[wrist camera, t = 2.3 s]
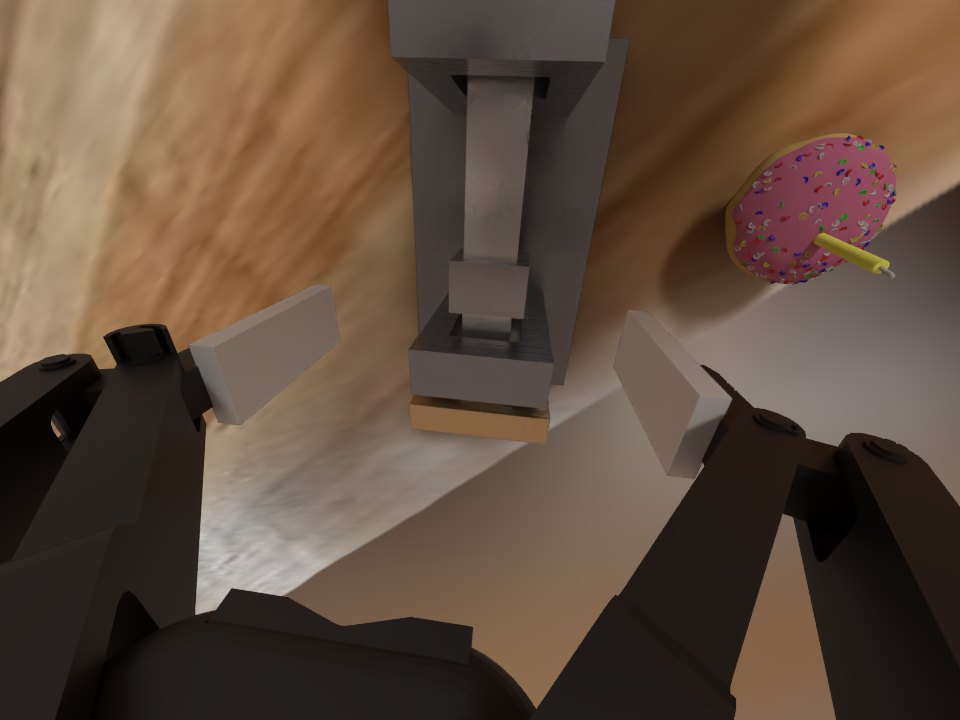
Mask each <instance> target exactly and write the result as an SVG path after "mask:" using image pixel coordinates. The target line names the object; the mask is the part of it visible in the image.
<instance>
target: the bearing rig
mask: <svg viewBox="0 0 960 720" xmlns="http://www.w3.org/2000/svg"><path fill="white" fill-rule="evenodd" d="M615 1H616V0H388V12H389V28H390V45H391V57H392V58H393V59H394V60H395V61H396V62H397V63H398V64H399V65H401V66H402V67H403V68H404V69H405V70H406V71H407V72H408V81H409V105H410V129H411V152H412V176H413V200H414V224H415V247H416V271H417V295H418V318H419V335H418V337H417V338H416V340H415V341H414V343H413V344H412V345H411V347H410V348H409V364H410V381H411V394H413V395H422V396H431V397H440V398H450V399H459V400H468V401H477V402H486V403H496V404H505V405H514V406H523V407H532V408H541V409H546V407H547V401H548V395H549V389H550V384H558V385H563V384H564V379H565V374H566V369H567V364H568V358H569V353H570V348H571V343H572V338H573V332H574V327H575V322H576V317H577V312H578V306H579V301H580V296H581V291H582V285H583V280H584V275H585V270H586V265H587V259H588V254H589V249H590V244H591V239H592V233H593V228H594V223H595V218H596V213H597V207H598V202H599V197H600V192H601V187H602V181H603V176H604V171H605V166H606V160H607V155H608V150H609V145H610V140H611V134H612V129H613V124H614V119H615V114H616V108H617V103H618V98H619V93H620V88H621V82H622V77H623V72H624V67H625V62H626V56H627V51H628V46H629V41H630V38H609V36H610V31H611V25H612V19H613V13H614V7H615ZM468 75H481V76H519V77H535V81H534V92H533V102H532V112H531V123H530V133H529V144H528V154H527V164H526V175H525V185H524V196H523V206H522V216H521V227H520V237H519V248H518V251H525V252H529V275H528V284H527V293H526V302H525V310H524V319H516V318H512V320H511V331H510V341H499V340H488V339H478V338H467V337H462V314H459V313H449V260H450V259H451V258H452V257H453V256H454V255H455V254H456V253H457V252H458V251H459V250H460V249H461V248H462V247H464V222H465V179H466V135H467V91H468Z"/></svg>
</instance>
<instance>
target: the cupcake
mask: <svg viewBox="0 0 960 720" xmlns="http://www.w3.org/2000/svg"><path fill="white" fill-rule="evenodd" d="M881 147H882V148H881ZM882 149H884V146H881V145H879V146H878V145H876V144H875V143H873V142H872V140H871V139H864V138H863V137H861V136H856V135H852V134H845V133H838V134H829V135H824V136H820V137H816V138H813V139H809V140H806V141H802V142H798V143H794V144H790V145H787V146H784V147H782V148H781V149H779V150H778V151H776V152H775V153H773V154H772V155H770V156H769V157H768V158H767V159H765V160H764V161H763V162H762V163H761V164H760V165H759V166H758V167H757V168H756V169H755V170H754V171H753V172H752V174H751V175H750V176H749V177H748V179H747V180H746V181H745V182H744V184H743V185H742V186H741V188H740V189H739V190H738V192H737V193H736V195H735V196H734V197H733V199H732V200H731V201H730V203H729V204H728V206H727V208H726V212H725V237H726V246H727V251H728V254H729V256H730V258H731V260H732V262H733V263H734V264H735V265H736V266H737V267H738V268H739V269H741V270H742V271H744V272H745V273H747V274H749V275H751V276H753V277H755V278H758V279H761V280H764V281H768V282H770V283H771V284H772V282H773V283H780V284H793V285H798V284H799V283H798V282H803V283H804V282H807V281H808V280H810V279H813V278H814V279H816V278H819V276H820V275H821V274H823V273H825V272H827V271H831V270H833V269H834V268H835V267H836V266H838V265H840V264H841V263H843V262H848V261H850V262H852V263H854V264H856V265H858V266H860V267H862V268H864V269H866V270H868V271H870V272H872V273H875V274H876V273H881V272H882V273H883V274H885V275H887V276H888V277H889V278H890V279H893V278H895V275H894V273H893V272H891V271H889V270H887V268H888V267H889V262H888V261H886V260H884V259H882V258H879V257H877V256H875V255H873V254H870V253H868V252H866V251H864V247H866V246H867V245H869V243H870V241H871V240H870V239H873V238H875V237H876V235H877V232H878V231H879V230H880V229H882V228H883V227H884V226H883V225H882V223H883V221H884V220H885V218H886V216H887V214H888V211H889V208H890V206H891V204H893V203H894V202H895V200H896V199H894V200H893V196H895V195H896V190H895V185H896V173H897V169H896V167H897V166H895V165H894V163H893V162H891V160H890V159H889V157H888V156H887V154H886V153H885V152H884V151H883V150H882ZM880 227H881V228H880ZM873 236H874V237H873ZM861 249H862V250H861ZM846 260H848V261H846ZM817 276H818V277H817ZM805 280H806V281H805ZM794 283H795V284H794Z"/></svg>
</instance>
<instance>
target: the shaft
mask: <svg viewBox="0 0 960 720" xmlns="http://www.w3.org/2000/svg"><path fill="white" fill-rule="evenodd" d="M534 81H535V77H519V76H481V75H468V91H467V135H466V179H465V222H464V247H462V248H461V249H460V250H459V251H458V252H457V253H456V254H455V255H454V256H453V257H452V258H451V259H450V260H449V313H459V314H462V337H467V338H478V339H488V340H499V341H510V331H511V320H512V318H516V319H524V310H525V302H526V293H527V284H528V275H529V252H525V251H518V248H519V237H520V227H521V216H522V206H523V196H524V185H525V175H526V164H527V154H528V144H529V133H530V123H531V112H532V102H533V92H534Z"/></svg>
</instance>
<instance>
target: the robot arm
mask: <svg viewBox="0 0 960 720" xmlns="http://www.w3.org/2000/svg"><path fill="white" fill-rule="evenodd" d="M103 338H104V340H105V341H106V343H107V345H108V347H109V349H110V351H111V353H112V355H113V357H114V359H115V361H116V363H117V365H116V367H115V368H113V369H98V367H97V365H96V364H95V362H94V360H93V358H92V357H91V355H88V354H69V355H65V354H61V355H55V356H51V357H47V358H44V359H43V360H41V361H39V362H36V363H33V364H31V365H29V366H27V367H25V368H23V369H21V370H20V371H18V372H16V373H15V374H13V375H12V376H10V377H8V378H7V379H5V380H3V381H2V382H0V720H734V717H735V712H736V698H735V697H734V696H733V695H732V694H730V686H731V682H732V678H733V674H734V671H735V668H736V664H737V661H738V658H739V655H740V652H741V648H742V645H743V642H744V639H745V635H746V632H747V629H748V625H749V622H750V619H751V616H752V612H753V609H754V606H755V602H756V599H757V596H758V593H759V589H760V586H761V583H762V580H763V576H764V573H765V570H766V566H767V563H768V560H769V557H770V553H771V550H772V547H773V543H774V540H775V537H776V533H777V530H778V527H779V524H780V520H781V517H782V514H785V515H788V516H792V517H793V519H794V523H795V528H796V533H797V537H798V542H799V546H800V552H801V556H802V561H803V565H804V570H805V575H806V579H807V584H808V589H809V594H810V599H811V603H812V608H813V612H814V617H815V622H816V627H817V631H818V636H819V641H820V645H821V650H822V655H823V660H824V664H825V669H826V674H827V678H828V683H829V688H830V693H831V697H832V702H833V707H834V711H835V716H836V720H960V506H959V505H958V503H957V502H956V501H955V499H954V498H953V497H952V496H951V494H950V493H949V492H948V491H947V489H946V488H945V486H944V485H943V484H942V482H941V481H940V480H939V478H938V477H937V476H936V475H935V473H934V472H933V471H932V469H931V468H930V467H929V465H928V464H927V463H926V462H925V461H924V460H923V459H922V458H920V457H919V456H918V455H916V454H914V453H913V452H911V451H909V450H908V449H907V448H906V447H905V446H903V445H901V444H896V442H894V441H891V440H888V439H882V438H879V437H876V436H873V435H868V434H864V433H850V434H848V435H846V436H845V438H844V439H843V440H842V442H841V443H840V445H839V446H838V447H836V446H833V445H828V444H825V443H821V442H818V441H814V440H810V439H806V434H805V431H804V430H803V429H802V428H801V427H800V426H799V425H798V424H797V423H795V422H794V421H792V420H791V419H789V418H787V417H784V416H782V415H780V414H778V413H775V412H772V411H769V410H765V409H760V408H754V407H753V406H752V405H751V404H750V403H748V402H747V401H746V400H745V399H744V398H743V397H742V396H741V395H740V394H739V393H738V392H737V391H735V390H734V388H733V387H732V386H731V385H730V384H728V383H727V382H726V381H725V380H724V378H722V376H720V375H719V374H718V373H717V372H715V371H713V370H712V369H710V368H708V367H706V366H705V365H699V364H698V363H697V362H696V361H695V360H694V359H693V358H692V357H691V356H690V355H689V354H688V353H687V352H686V351H685V350H684V349H683V348H682V347H681V346H680V345H679V344H678V343H677V342H676V341H675V340H674V338H673V337H672V336H671V335H670V334H669V333H668V332H667V331H666V330H665V329H664V328H663V327H662V326H661V325H660V324H659V323H658V322H657V321H656V320H655V319H654V318H653V317H652V316H651V315H650V314H649V313H648V312H647V311H637V310H628V313H627V316H626V320H625V324H624V328H623V332H622V336H621V339H620V343H619V347H618V351H617V355H616V359H615V362H614V366H613V367H614V369H615V371H616V373H617V375H618V377H619V379H620V381H621V383H622V385H623V388H624V390H625V392H626V394H627V396H628V397H629V400H630V402H631V403H632V406H633V408H634V410H635V412H636V414H637V416H638V418H639V420H640V422H641V424H642V426H643V428H644V430H645V432H646V434H647V436H648V438H649V440H650V442H651V444H652V446H653V448H654V450H655V452H656V454H657V456H658V458H659V461H660V463H661V465H662V466H663V469H664V470H665V473H666V475H667V476H674V477H683V478H692V479H695V477H696V475H697V473H698V471H699V469H700V467H701V464H702V462H703V464H704V468H703V469H702V471H701V472H700V474H699V475H698V477H697V478H696V480H695V481H694V483H693V484H692V486H691V487H690V489H689V490H688V492H687V493H686V495H685V497H684V498H683V500H682V501H681V503H680V504H679V506H678V507H677V509H676V510H675V512H674V513H673V515H672V516H671V518H670V519H669V521H668V522H667V524H666V525H665V527H664V528H663V530H662V532H661V533H660V534H659V536H658V537H657V539H656V540H655V542H654V544H653V545H652V547H651V548H650V550H649V551H648V553H647V554H646V556H645V557H644V559H643V560H642V562H641V563H640V565H639V566H638V568H637V569H636V571H635V572H634V574H633V576H632V577H631V579H630V580H629V581H628V583H627V585H626V586H625V587H624V589H623V590H622V592H621V593H620V594H619V595H618V596H616V595H615V596H614V597H613V598H612V599H611V600H610V602H609V603H608V604H607V606H606V607H605V609H604V610H603V611H602V613H601V614H600V616H599V617H598V619H597V620H596V622H595V623H594V625H593V626H592V628H591V629H590V631H589V632H588V633H587V635H586V636H585V638H584V640H583V641H582V642H581V644H580V645H579V647H578V648H577V650H576V651H575V653H574V654H573V656H572V657H571V659H570V660H569V662H568V663H567V665H566V666H565V668H564V669H563V671H562V672H561V674H560V675H559V677H558V678H557V679H556V681H555V682H554V684H553V685H552V687H551V688H550V690H549V691H548V693H547V695H546V696H545V697H544V699H543V700H542V702H541V703H540V705H539V706H538V708H537V709H536V708H535V706H534V705H533V703H532V702H531V700H530V699H529V697H528V696H527V694H526V693H525V692H524V691H523V689H522V688H521V687H520V686H519V685H518V683H517V682H516V681H515V680H514V679H513V678H512V677H511V676H510V675H509V674H508V673H507V672H506V671H505V670H504V669H503V668H502V667H501V666H500V665H498V664H497V663H496V662H494V661H493V660H491V659H490V658H489V657H487V656H486V655H485V654H483V653H481V652H479V651H477V650H475V649H474V648H471V647H472V633H473V627H470V626H465V625H458V624H452V623H446V622H439V621H433V620H427V619H421V618H414V617H408V618H400V619H393V620H386V621H379V622H372V623H365V624H357V625H350V626H340V625H337V624H335V623H333V622H331V621H329V620H327V619H326V618H324V617H322V616H321V615H319V614H317V613H315V612H313V611H312V610H310V609H308V608H306V607H304V606H303V605H301V604H299V603H297V602H295V601H294V600H292V599H290V598H288V597H283V596H277V595H270V594H264V593H258V592H252V591H245V590H239V589H233V588H232V589H231V590H230V591H229V593H228V594H227V596H226V597H225V598H224V600H223V601H222V602H221V604H220V605H219V607H218V608H217V609H216V610H214V611H210V612H206V613H202V614H198V615H195V605H196V588H197V571H198V555H199V538H200V521H201V505H202V488H203V471H204V455H205V438H206V422H205V420H204V417H203V415H202V414H203V413H205V412H206V411H207V410H209V409H210V408H213V410H214V413H215V415H216V418H217V421H218V423H225V424H234V425H242V424H243V423H244V422H245V421H246V420H248V419H249V418H250V417H251V416H252V415H253V414H255V413H256V412H257V411H258V410H259V409H261V408H262V407H263V406H264V405H265V404H266V403H268V402H269V401H270V400H271V399H272V398H274V397H275V396H276V395H277V394H278V393H279V392H281V391H282V390H283V389H284V388H285V387H287V386H288V385H289V384H290V383H291V382H292V381H294V380H295V379H296V378H297V377H298V376H300V375H301V374H302V373H303V372H304V371H306V370H307V369H308V368H309V367H310V366H311V365H313V364H314V363H315V362H316V361H317V360H319V359H320V358H321V357H322V356H323V355H324V354H326V353H327V352H328V351H329V350H330V349H332V348H333V347H334V346H335V345H336V344H337V343H339V342H340V336H339V330H338V323H337V317H336V310H335V304H334V298H333V291H332V286H328V285H313V286H311V287H309V288H307V289H305V290H303V291H301V292H299V293H297V294H294V295H292V296H290V297H288V298H286V299H284V300H282V301H280V302H278V303H275V304H273V305H271V306H269V307H267V308H265V309H263V310H261V311H259V312H256V313H254V314H252V315H250V316H248V317H246V318H244V319H242V320H240V321H237V322H235V323H233V324H231V325H229V326H227V327H225V328H223V329H221V330H218V331H216V332H214V333H212V334H210V335H208V336H206V337H204V338H202V339H199V340H197V341H195V342H193V343H191V344H189V345H188V346H189V348H188V349H186V350H183V351H181V352H179V353H177V351H176V349H175V346H174V344H173V341H172V339H171V336H170V334H169V332H168V329H167V327H166V326H165V325H162V324H142V325H135V326H130V327H125V328H122V329H118V330H115V331H113V332H110V333H108V334H106V335H105V336H104V337H103ZM51 420H52V422H53V423H54V425H55V426H56V428H57V429H58V431H59V432H60V434H61V435H60V436H59V437H57V436H56V434H55V433H54V431H53V429H52V426H51Z"/></svg>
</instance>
